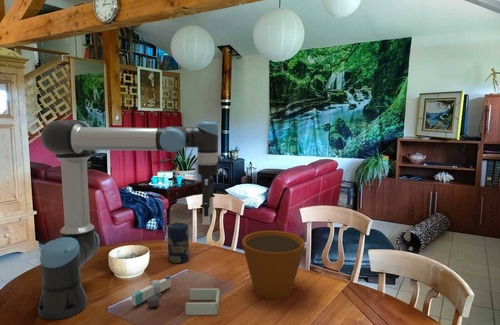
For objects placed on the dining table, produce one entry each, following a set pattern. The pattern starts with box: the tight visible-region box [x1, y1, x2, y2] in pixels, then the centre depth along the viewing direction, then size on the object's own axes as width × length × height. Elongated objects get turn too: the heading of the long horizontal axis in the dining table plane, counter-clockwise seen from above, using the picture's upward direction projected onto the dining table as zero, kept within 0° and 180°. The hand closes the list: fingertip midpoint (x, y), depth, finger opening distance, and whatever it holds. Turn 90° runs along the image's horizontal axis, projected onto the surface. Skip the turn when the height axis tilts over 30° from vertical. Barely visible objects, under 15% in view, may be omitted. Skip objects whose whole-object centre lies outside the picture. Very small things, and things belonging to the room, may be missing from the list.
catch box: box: [185, 288, 221, 316], centre depth 125 cm, size 11×11×4 cm
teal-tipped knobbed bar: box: [131, 274, 172, 306], centre depth 131 cm, size 3×17×5 cm, turn 147°
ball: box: [146, 295, 160, 308], centre depth 125 cm, size 4×4×4 cm
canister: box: [167, 222, 190, 264], centre depth 164 cm, size 10×10×18 cm
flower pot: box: [241, 230, 306, 300], centre depth 137 cm, size 24×24×20 cm
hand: (208, 219), depth 135 cm, fingers open, 13 cm apart
